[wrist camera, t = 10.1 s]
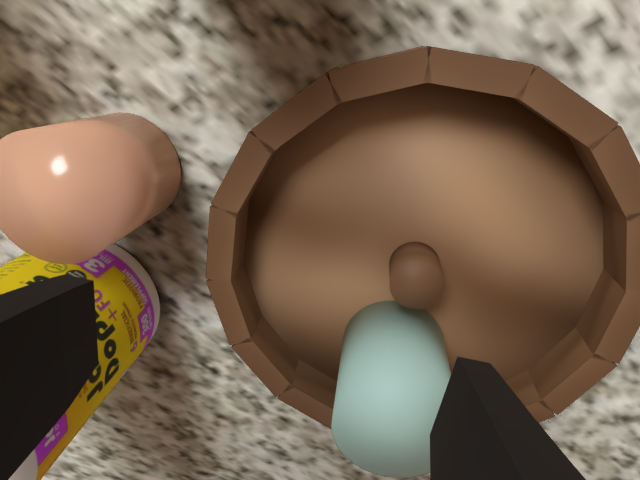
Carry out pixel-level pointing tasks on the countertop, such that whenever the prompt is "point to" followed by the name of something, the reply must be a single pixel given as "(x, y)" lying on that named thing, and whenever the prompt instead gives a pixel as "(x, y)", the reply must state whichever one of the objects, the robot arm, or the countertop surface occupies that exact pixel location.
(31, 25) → the countertop surface
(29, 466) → the supplement bottle
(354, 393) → the pale teal rounded piece
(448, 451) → the robot arm
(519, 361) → the tray
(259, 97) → the countertop surface
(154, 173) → the smooth rounded cylinder peach
